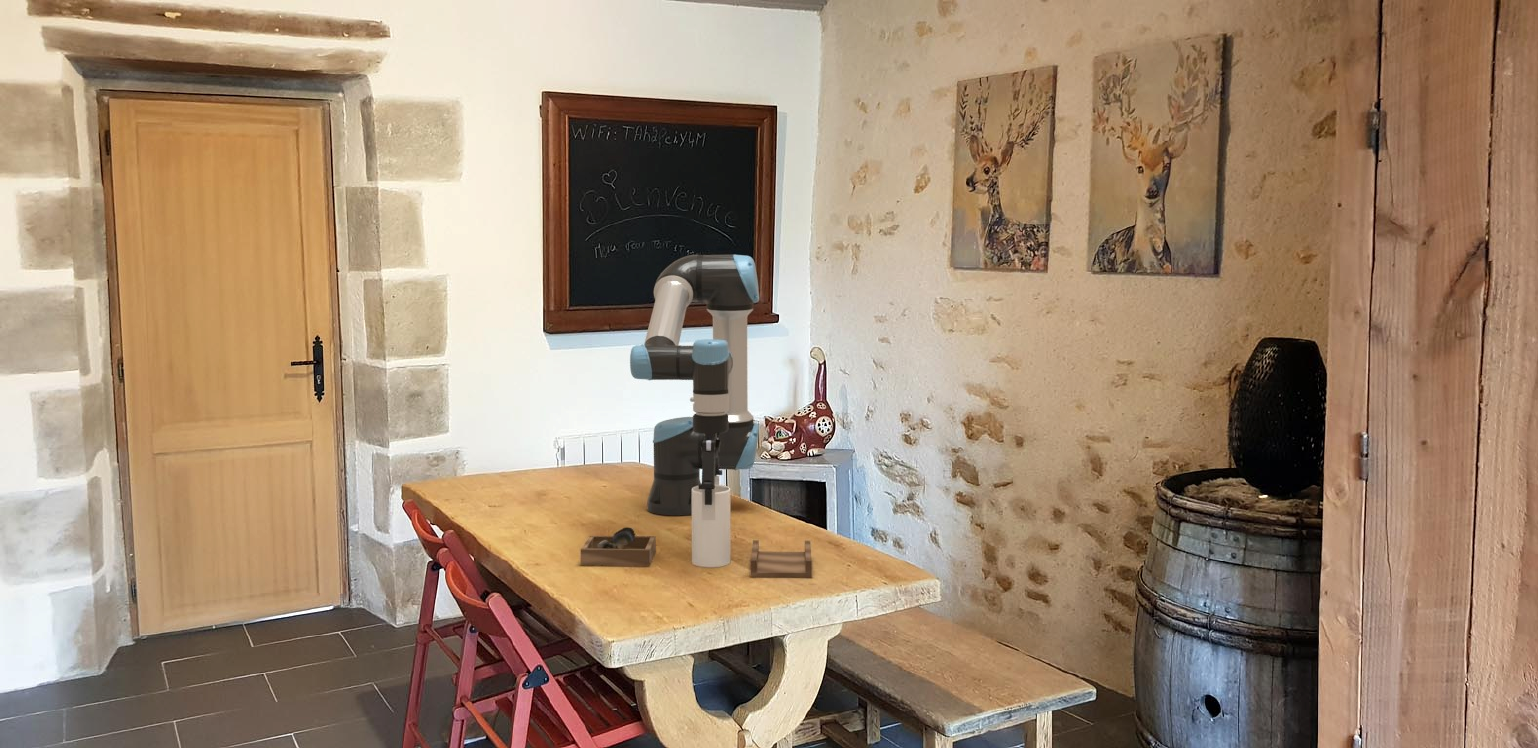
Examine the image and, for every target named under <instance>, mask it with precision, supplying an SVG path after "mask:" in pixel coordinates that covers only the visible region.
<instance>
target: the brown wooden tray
mask: <svg viewBox="0 0 1538 748" xmlns="http://www.w3.org/2000/svg"><path fill="white" fill-rule="evenodd" d="M759 542H760V541H759V539H753V540H752V547H751V557H750V578H776V579H777V578H778V579H779V578H787V579H790V578H797V579H798V578H799V579H803V578H804V579H805V578H806V579H811V578H812V570H813V568H812V565H813V562H812V561H813V560H812V544H811V540H804V551H771V550H770V551H761V550H760V545H759V544H760V543H759Z"/></svg>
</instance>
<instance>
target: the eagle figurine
mask: <svg viewBox="0 0 1538 748" xmlns="http://www.w3.org/2000/svg"><path fill="white" fill-rule="evenodd" d="M612 536H613V539H612V542H611V543H609V542H608V541H607V540H604V541H602V542H600V543H599V544H598V546H597V548H598V549H625V547H626V546H627V544H628V543H630V542H632V541H634V538H635V536H636V533H635V531H634V529H632V527H627V526H626V527H623V528H621V529H619V530H618V531H616V532H615V533H614V534H613V535H612ZM623 545H624V546H623ZM622 546H623V547H622Z"/></svg>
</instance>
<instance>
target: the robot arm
mask: <svg viewBox="0 0 1538 748" xmlns="http://www.w3.org/2000/svg"><path fill="white" fill-rule="evenodd" d="M653 297H654V300H655V301H654V305H653V307H652V312H651V316H650V320H649V325H648V329H647V331H646V332H647V333H646V335H645V339H644V344H640V345H639V344H638V345H634V346H632V348H631V349H630V355H629V356H630V357H629V367H630V373H631V376H632V378H634V379H636V380H646V381H660V380H661V381H667V380H669V381H673V380H674V381H692V384H693V385H692V389H693V390H692V396H691V397H690V399H689V401H690V402H692V403H693V404H692V411H693V412H694V414H693V415H692V416H682V417H681V416H680V417H676V418H675V417H674V418H669V419H665V420H662V421H660V422H658V423H657V424H655V426H654V429H653V439H652V443H653V482H652V484H651V488H650V492H649V494H648V497H647V502H646V503H647V504H646V507H647V509H646V510H647V511H648V512H650V513H652V514H655V515H661V516H689V515H691V516H692V488H693V487H695V486H699V489H702V520H715V485H720V476H722V475H723V470H732V471H733V470H734V471H738V470H750V469H751V468H752V467H754V464H755V462H756V461H755V460H756V454H757V449H758V448H757V447H758V440H759V433H760V432H759V431H760V424H758V423H757V422H755V421H754V420H755V419H754V417H755V416H754V415H753V414H752V413H751V412H750V411H749V410H748V409H749V408H748V404H749V403H748V402H749V401H748V399H749V398H748V316H749V315H750V314H751V313H752V312H753V311H754V304H756V303H758V302H759V301H760V292H759V282H758V274H757V267H756V263H755V261H754V259H753V257H751V256H749V255H744V254H743V255H742V254H690V255H686V256H683V257H681V258H679V259H676V260H675V261H673V262H672V263H671V264H669V265H667V267H666V268H665V269H663V271H662V272H661V273H660V274H659V276H658V277H657V279H656V282H655V284H654V288H653ZM691 303H706V311H707V313H710V315H711V316H712V338H709V339H707V338H706V339H697V340H695V341H694V342H693V344H692V345H680V339H681V335H682V331H683V325H684V321H685V316H686V312H687V307H689V305H690V304H691ZM754 422H755V423H754ZM700 470H702V471H701V472H700ZM700 473H701V476H700ZM700 477H701V478H700Z"/></svg>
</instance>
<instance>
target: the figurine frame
mask: <svg viewBox="0 0 1538 748" xmlns="http://www.w3.org/2000/svg"><path fill="white" fill-rule="evenodd" d="M613 536H614V535H589V537H588V538H587V539H586V541H585V542H584V544H583V545H582V547H581V548H580V566H581V565H600V566H599V567H650V566H651V564H652V562H653V559H654V557H655V555H656V552H657V548H656V547H657V545H656V543H657V542H656V541H657V540H656V539H657V538H656V537H657V536H655V535H635V538H634V541H632V542H630V543H628V544H627V546H626V547H625V549H598V548H597V546H598V544H599V543H600V542H602V541H604V540H607V541H608V542H609V543H611V542H612V539H613ZM623 546H624V545H623ZM623 546H622V547H623ZM654 554H655V555H654ZM601 565H603V566H601ZM605 565H606V566H605Z"/></svg>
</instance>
